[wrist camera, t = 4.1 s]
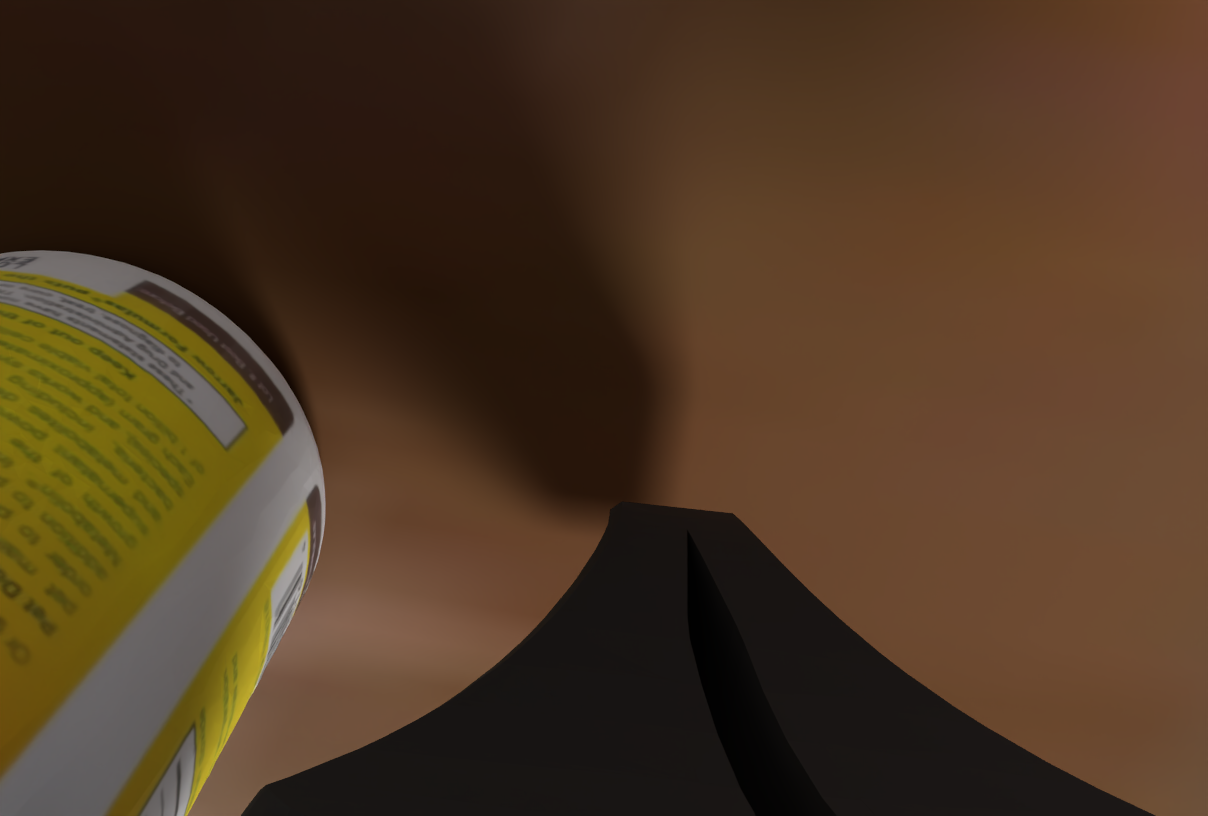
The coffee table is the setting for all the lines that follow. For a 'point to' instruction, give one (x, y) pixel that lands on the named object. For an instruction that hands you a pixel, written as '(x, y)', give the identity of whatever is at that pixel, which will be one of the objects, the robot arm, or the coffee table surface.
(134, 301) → the supplement bottle
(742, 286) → the coffee table surface
